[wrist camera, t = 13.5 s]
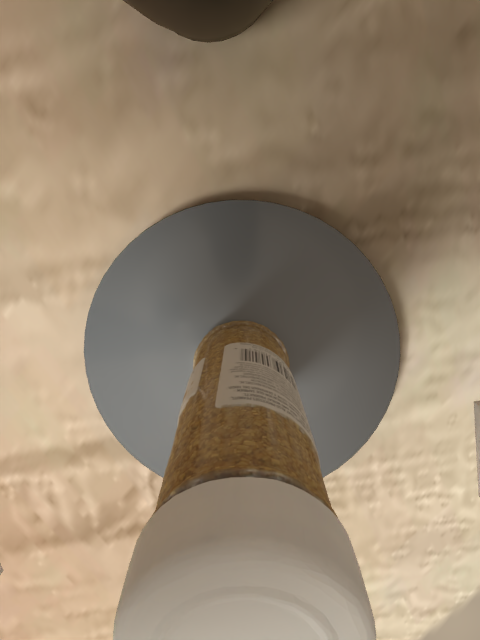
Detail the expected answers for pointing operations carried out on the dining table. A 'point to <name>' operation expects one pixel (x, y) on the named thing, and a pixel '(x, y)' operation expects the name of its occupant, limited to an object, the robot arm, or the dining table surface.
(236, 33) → the mug
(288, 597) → the sprinkles bottle
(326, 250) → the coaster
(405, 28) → the dining table surface
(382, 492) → the dining table surface
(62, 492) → the dining table surface
